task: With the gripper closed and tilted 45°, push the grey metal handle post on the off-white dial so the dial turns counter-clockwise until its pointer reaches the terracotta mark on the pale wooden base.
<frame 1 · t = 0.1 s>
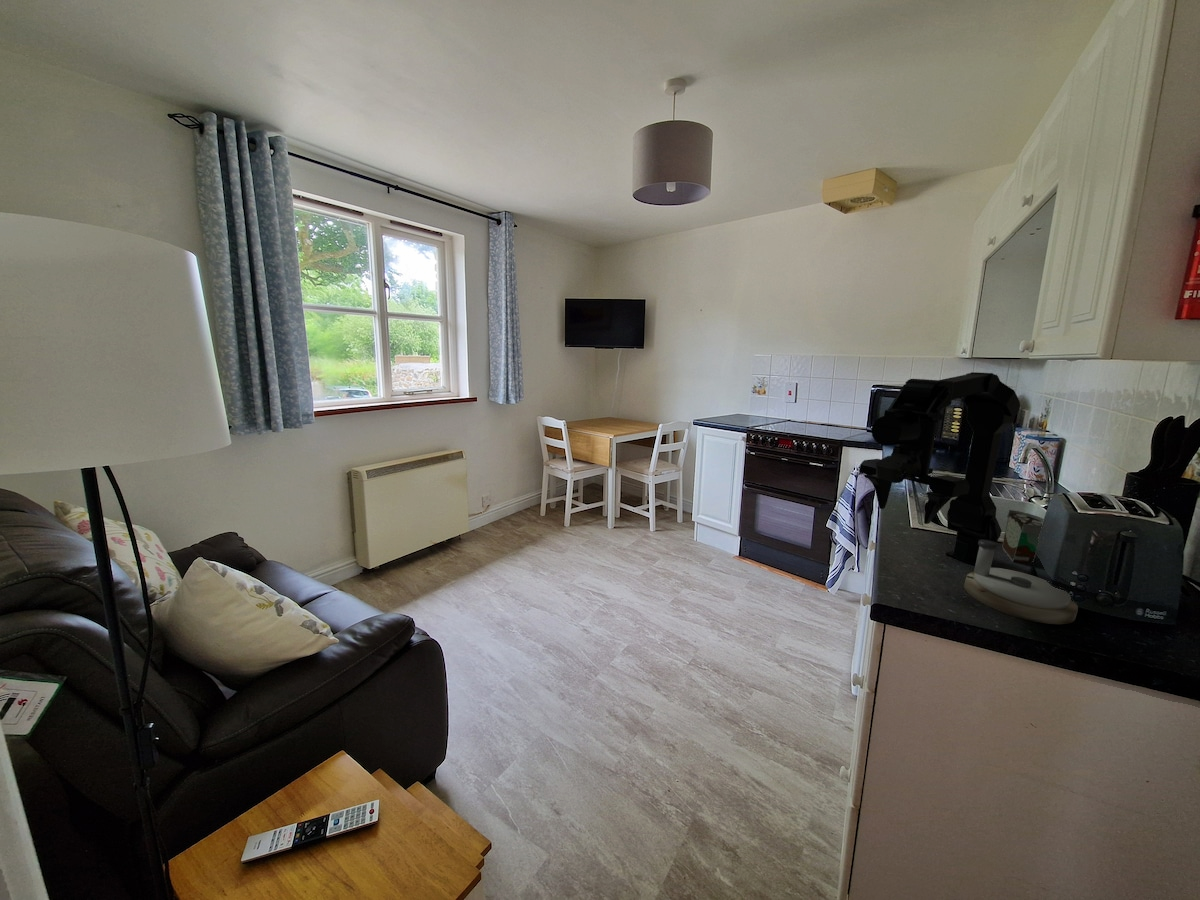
hand: (903, 515, 93), 15 cm above the worktop, tool pointing down, fingers open, 9 cm apart
dial: (1023, 570, 88), point 6 cm above the worktop, hinge at 0.0°
dial base: (1016, 600, 90), on the worktop
food container: (1023, 558, 109), on the worktop
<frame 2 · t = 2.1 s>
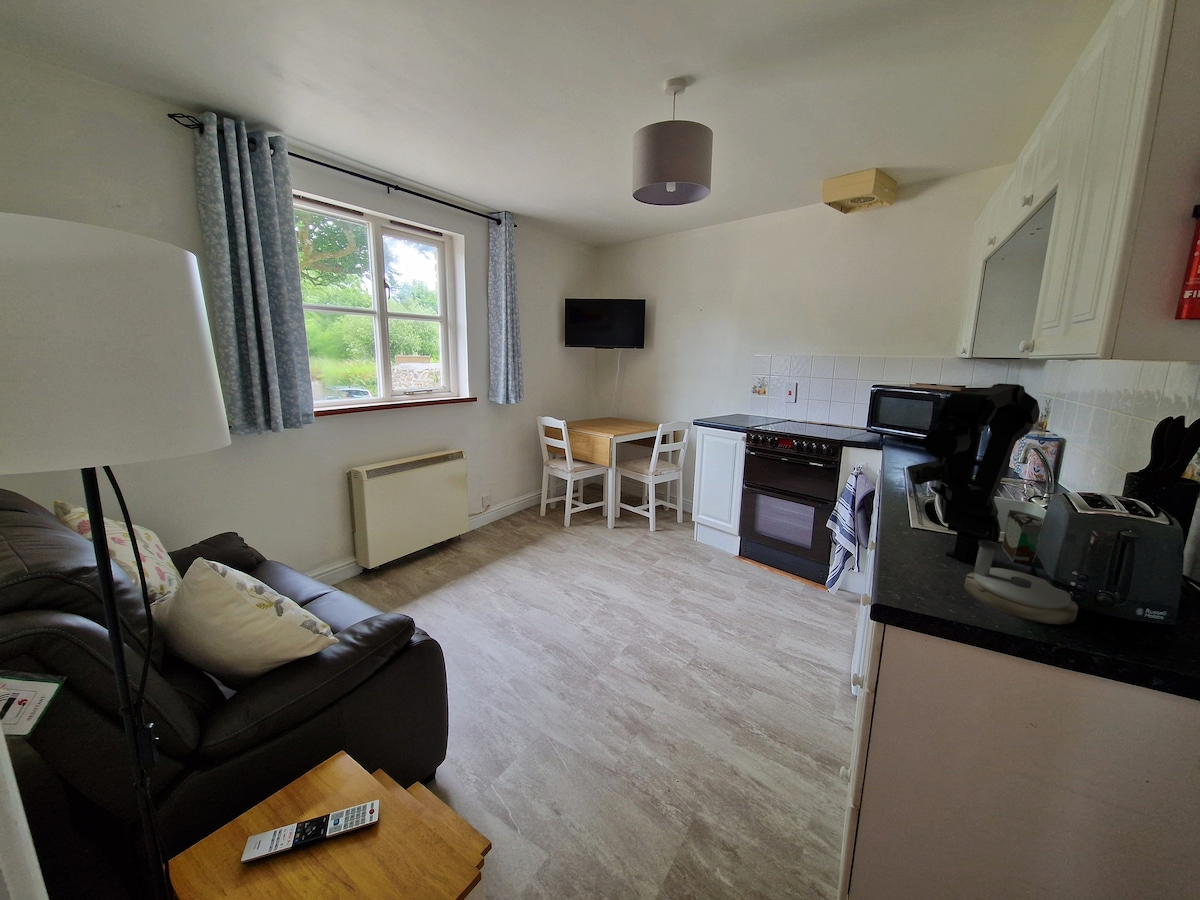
hand: (946, 523, 97), 12 cm above the worktop, tool pointing down, fingers closed
nothing on the worktop moved.
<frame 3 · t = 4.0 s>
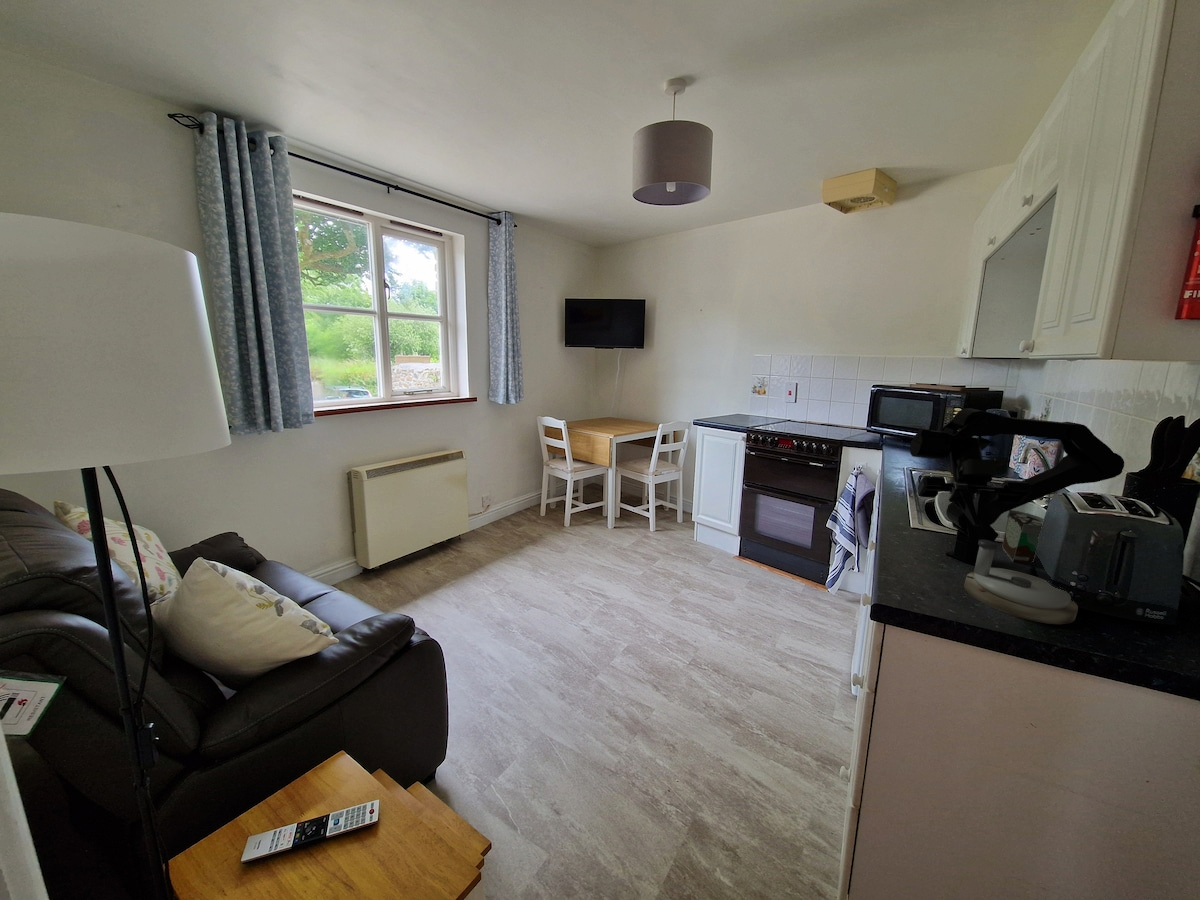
hand: (976, 525, 95), 12 cm above the worktop, tool tilted 40°, fingers closed
nothing on the worktop moved.
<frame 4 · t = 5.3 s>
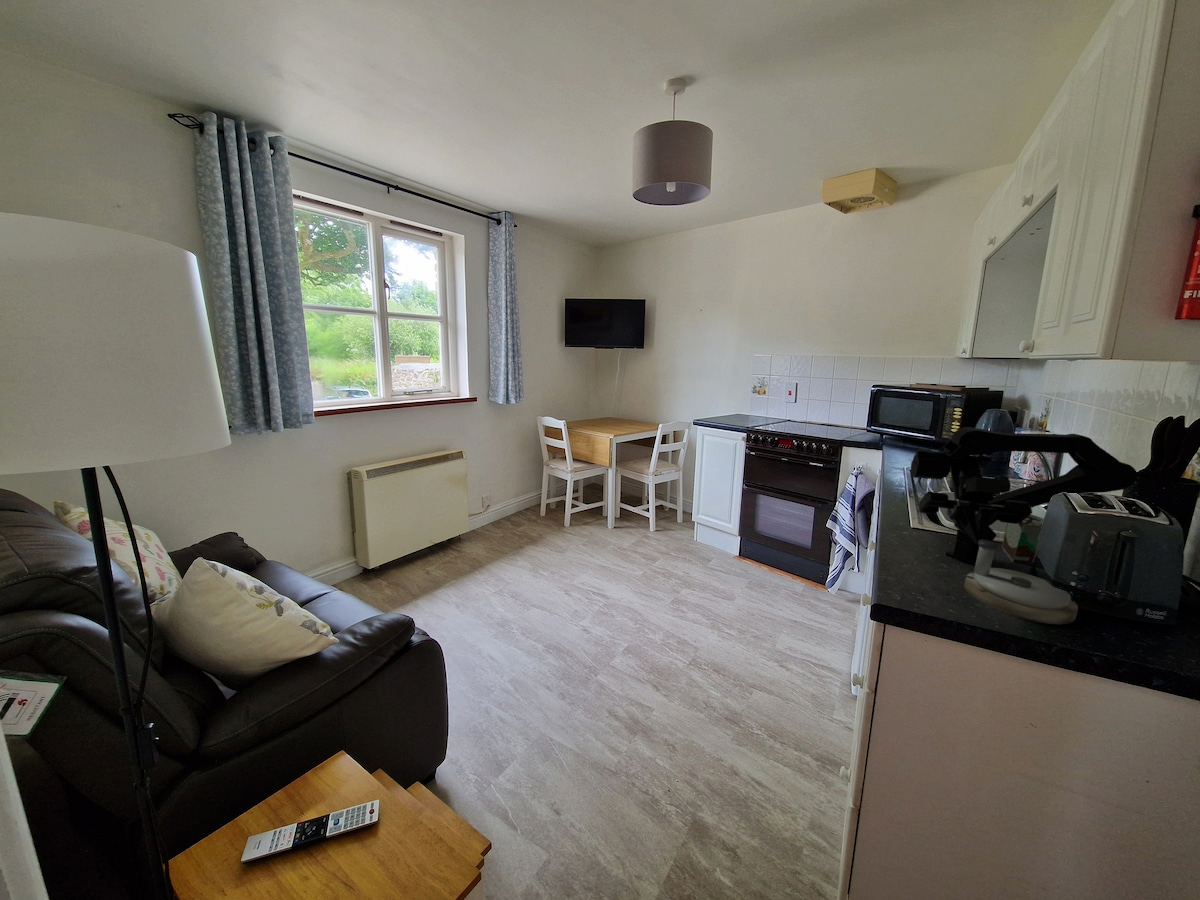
hand: (978, 542, 96), 9 cm above the worktop, tool tilted 45°, fingers closed
nothing on the worktop moved.
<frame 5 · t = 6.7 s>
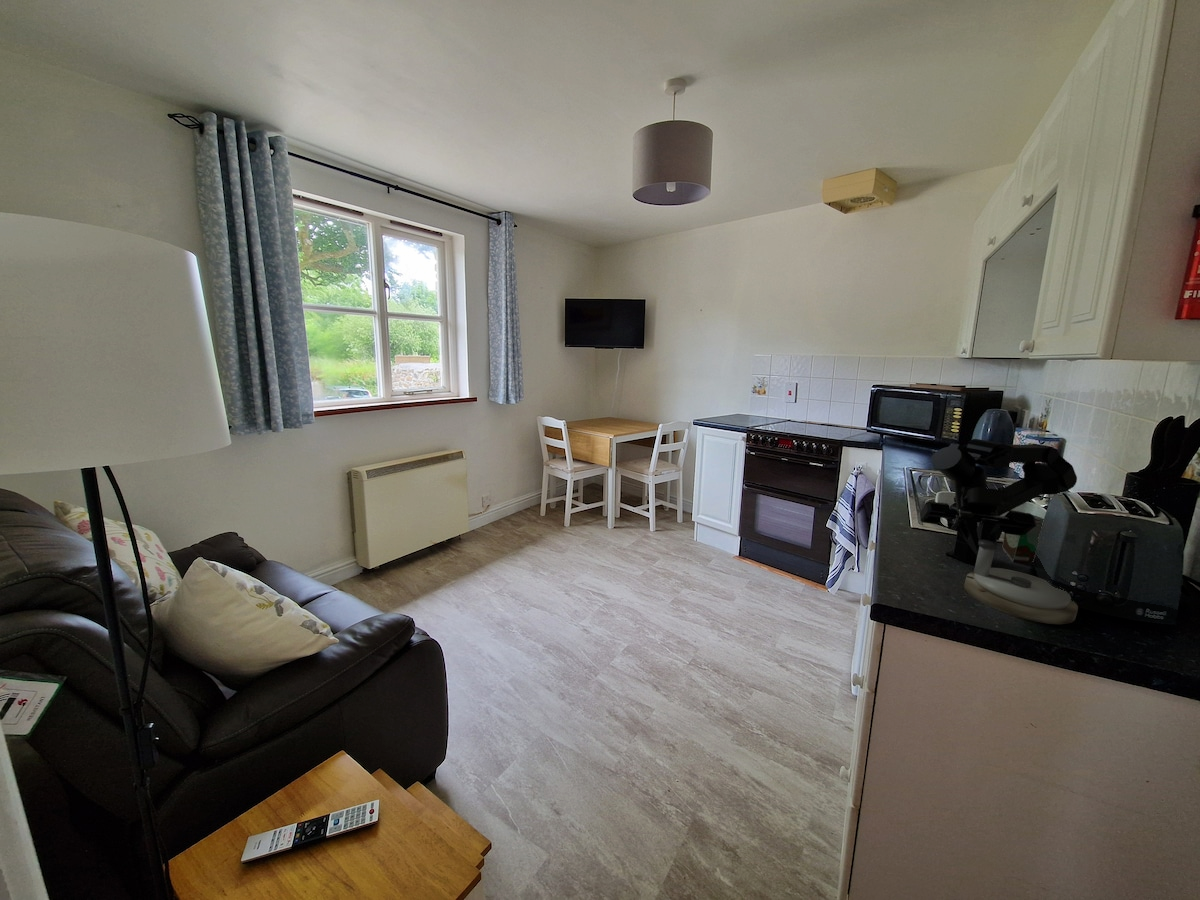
hand: (979, 554, 94), 7 cm above the worktop, tool tilted 45°, fingers closed, pressing on dial
dial: (1023, 570, 88), point 6 cm above the worktop, hinge at 0.8°, touching gripper
everything else where it was.
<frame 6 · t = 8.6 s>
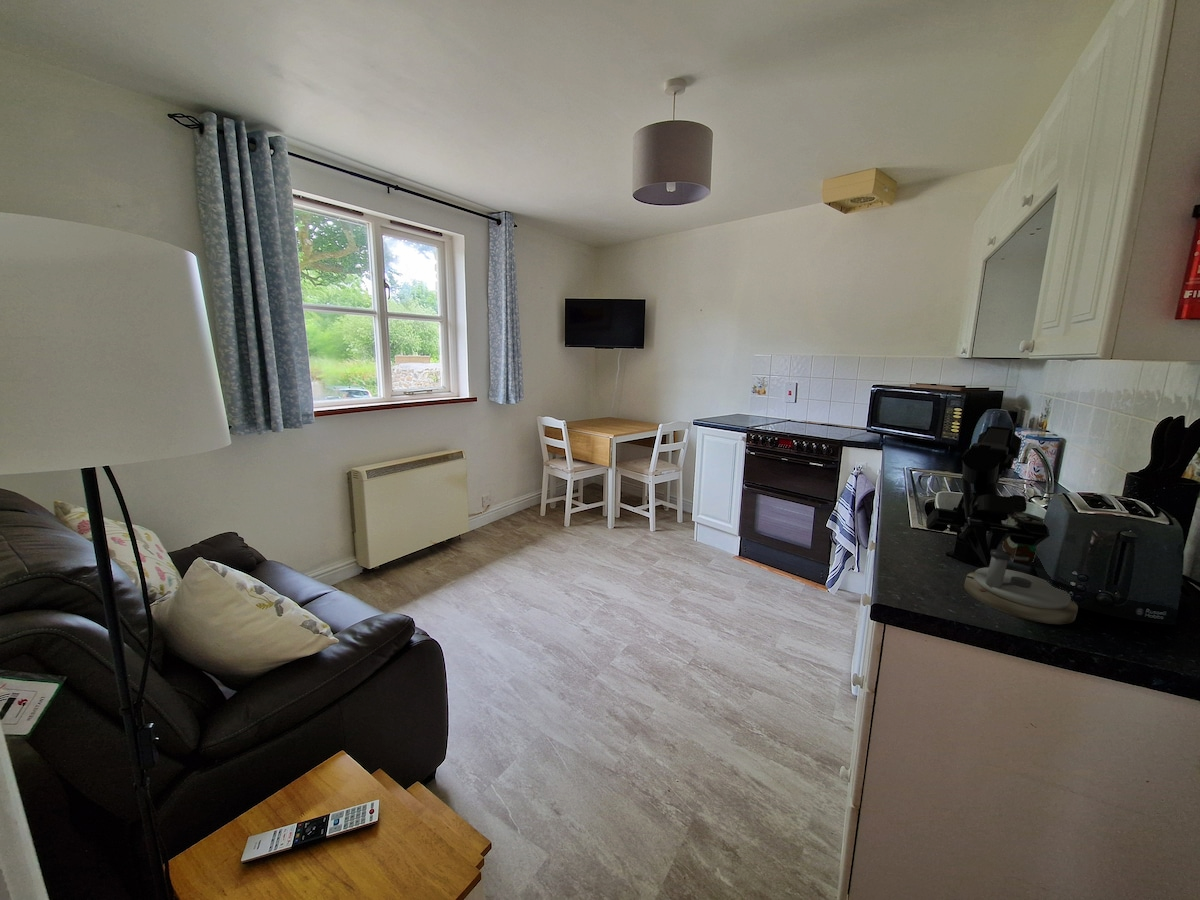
hand: (988, 565, 89), 7 cm above the worktop, tool tilted 45°, fingers closed, pressing on dial
dial: (1023, 570, 88), point 6 cm above the worktop, hinge at 49.5°, touching gripper
everything else where it was.
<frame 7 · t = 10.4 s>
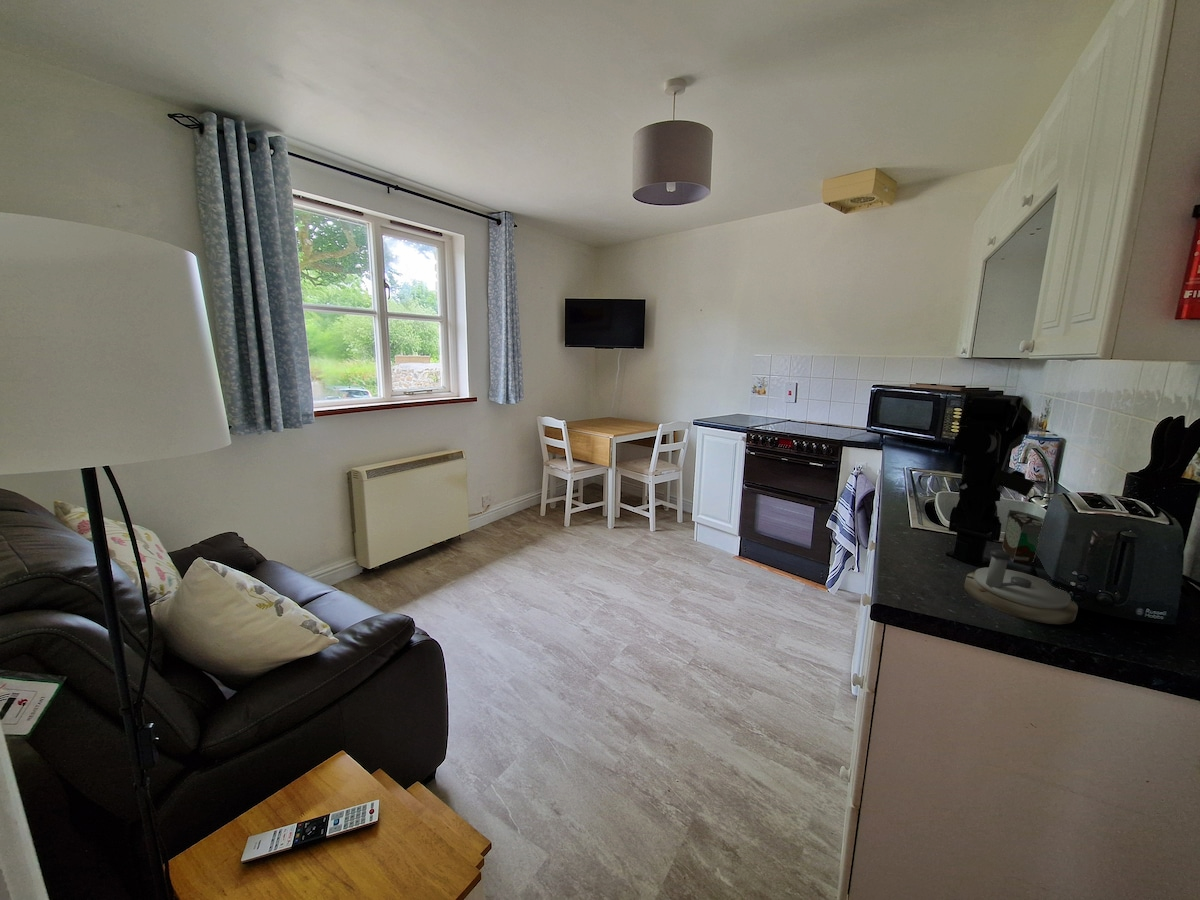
hand: (973, 529, 96), 11 cm above the worktop, tool pointing down, fingers closed
dial: (1023, 570, 88), point 6 cm above the worktop, hinge at 49.6°
everything else where it was.
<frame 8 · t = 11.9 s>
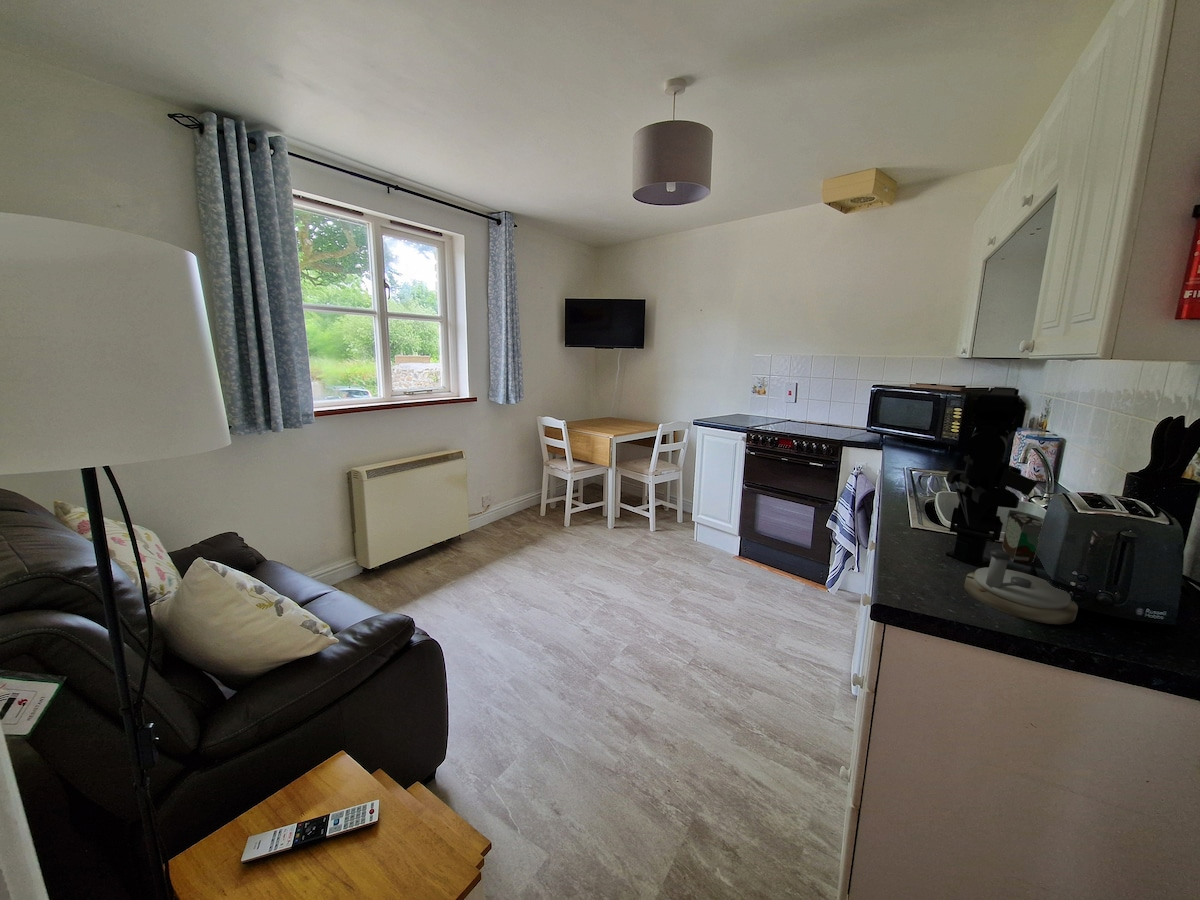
hand: (971, 525, 96), 12 cm above the worktop, tool pointing down, fingers closed
nothing on the worktop moved.
at the end: dial at +50° (first picture: +0°); dial touching nothing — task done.
